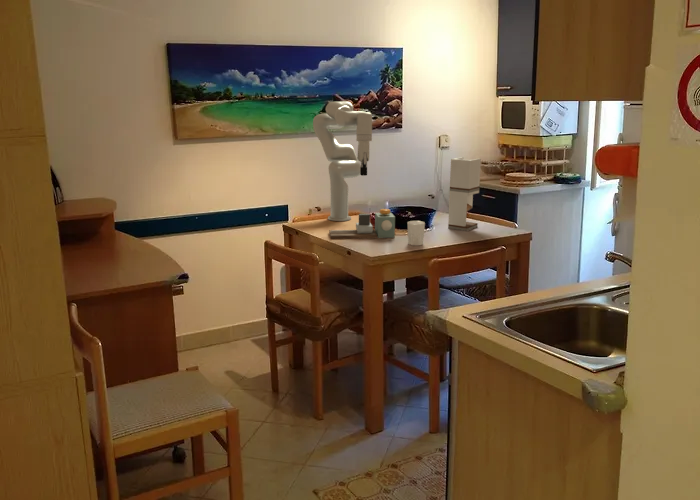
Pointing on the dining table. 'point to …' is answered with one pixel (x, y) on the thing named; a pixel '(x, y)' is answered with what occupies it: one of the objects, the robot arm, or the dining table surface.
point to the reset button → (384, 211)
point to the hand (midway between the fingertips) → (363, 175)
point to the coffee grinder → (463, 191)
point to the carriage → (364, 224)
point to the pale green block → (385, 225)
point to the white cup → (416, 232)
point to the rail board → (350, 234)
